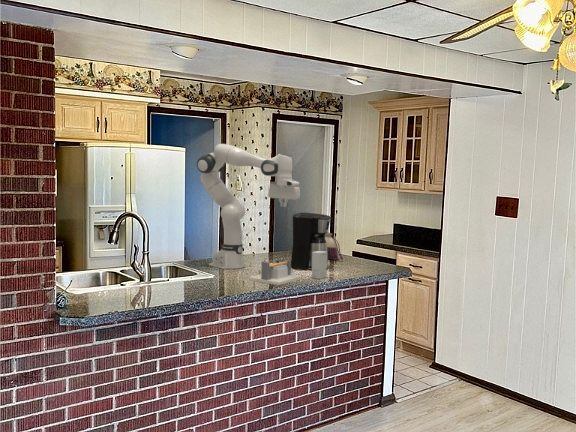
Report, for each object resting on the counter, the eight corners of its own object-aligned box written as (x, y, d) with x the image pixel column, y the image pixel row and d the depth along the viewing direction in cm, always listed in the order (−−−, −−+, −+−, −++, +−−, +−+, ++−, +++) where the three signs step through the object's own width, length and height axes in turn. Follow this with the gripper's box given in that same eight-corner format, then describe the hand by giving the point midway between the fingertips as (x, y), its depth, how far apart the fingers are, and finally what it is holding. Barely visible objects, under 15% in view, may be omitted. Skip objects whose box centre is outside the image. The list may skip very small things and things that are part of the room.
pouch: (309, 258, 374) (309, 230, 372) (315, 256, 381) (315, 229, 379) (341, 262, 361) (342, 233, 359) (347, 260, 367) (348, 232, 366)
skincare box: (320, 279, 303) (321, 252, 301) (310, 278, 306) (311, 251, 304) (327, 277, 310) (327, 251, 309) (317, 275, 313) (318, 250, 312)
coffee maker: (332, 271, 328) (334, 215, 325) (279, 271, 324) (280, 214, 321) (324, 264, 350) (326, 212, 347) (275, 264, 346) (276, 211, 343)
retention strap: (284, 262, 307) (284, 261, 307) (288, 263, 306) (288, 262, 306) (264, 266, 293) (264, 265, 293) (269, 267, 291) (269, 266, 291)
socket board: (248, 279, 296) (249, 260, 295) (273, 274, 314) (273, 255, 313) (278, 285, 285) (278, 264, 284) (301, 278, 302) (302, 259, 302)
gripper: (266, 181, 313) (265, 205, 314) (295, 183, 301) (294, 208, 302) (272, 181, 318) (272, 205, 319) (301, 183, 306) (301, 207, 307)
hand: (283, 206), depth 311 cm, fingers closed
